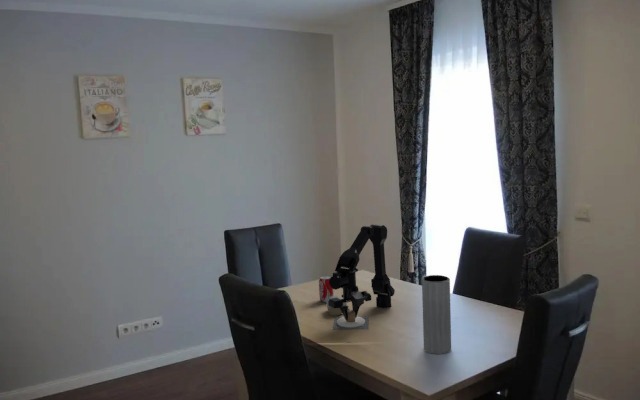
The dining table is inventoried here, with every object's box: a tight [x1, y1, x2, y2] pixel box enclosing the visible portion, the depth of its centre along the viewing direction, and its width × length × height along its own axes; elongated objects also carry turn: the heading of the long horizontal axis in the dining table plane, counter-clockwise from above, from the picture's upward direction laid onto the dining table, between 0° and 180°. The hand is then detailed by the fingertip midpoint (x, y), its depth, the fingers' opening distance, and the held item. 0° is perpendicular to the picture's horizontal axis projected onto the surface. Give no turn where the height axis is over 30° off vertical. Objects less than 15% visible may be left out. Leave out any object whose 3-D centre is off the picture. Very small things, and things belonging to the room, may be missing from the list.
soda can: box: [318, 275, 335, 303], centre depth 264 cm, size 7×7×12 cm
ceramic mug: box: [326, 295, 351, 317], centre depth 244 cm, size 11×8×8 cm
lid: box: [337, 309, 365, 328], centre depth 229 cm, size 12×12×5 cm
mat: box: [332, 316, 370, 331], centre depth 229 cm, size 15×15×1 cm
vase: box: [421, 274, 452, 355], centre depth 198 cm, size 10×10×27 cm
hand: (350, 319), depth 229 cm, fingers closed on lid, 4 cm apart
